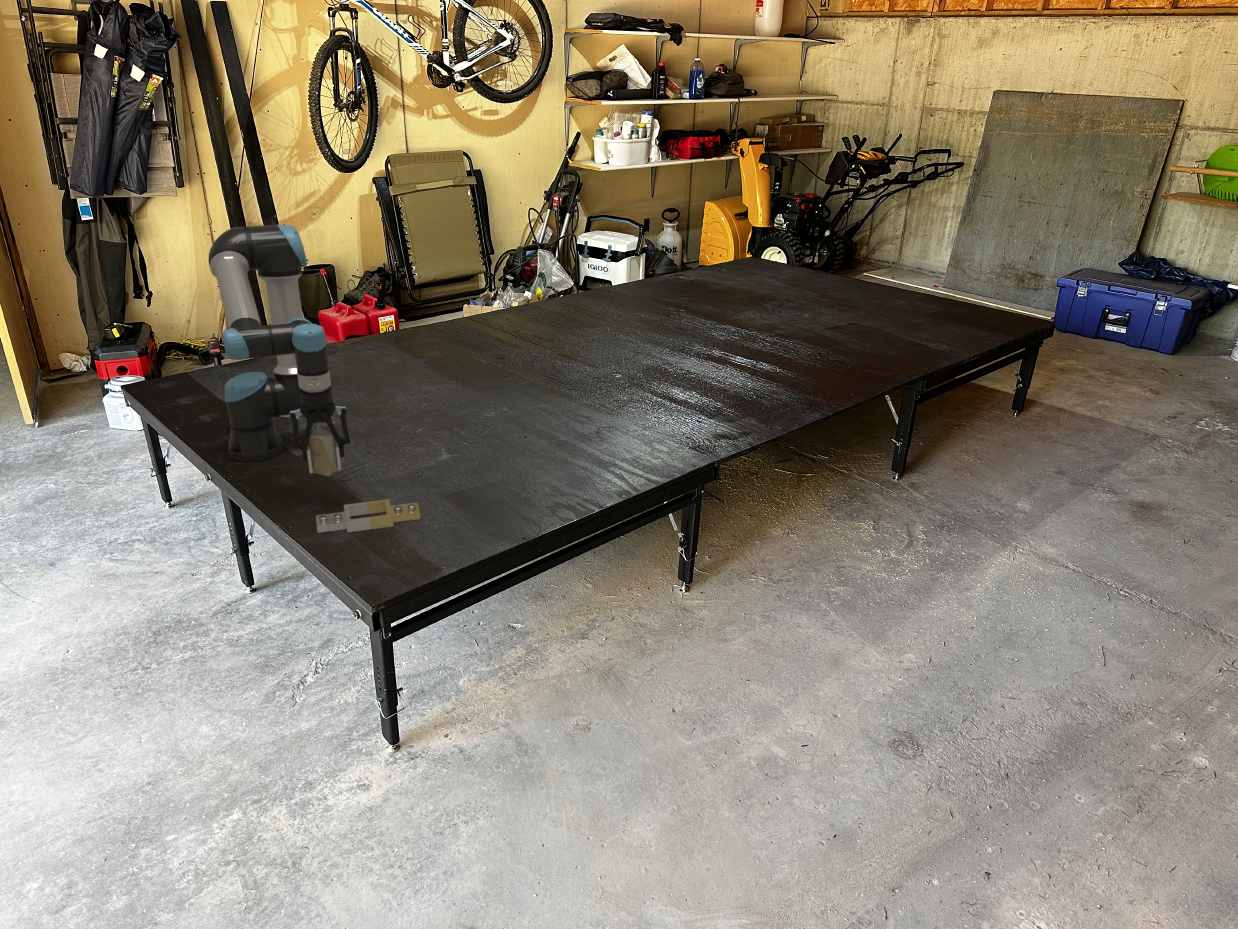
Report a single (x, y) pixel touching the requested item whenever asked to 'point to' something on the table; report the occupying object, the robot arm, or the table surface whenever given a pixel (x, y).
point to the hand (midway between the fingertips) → (325, 469)
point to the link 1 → (344, 519)
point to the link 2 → (391, 513)
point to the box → (323, 452)
